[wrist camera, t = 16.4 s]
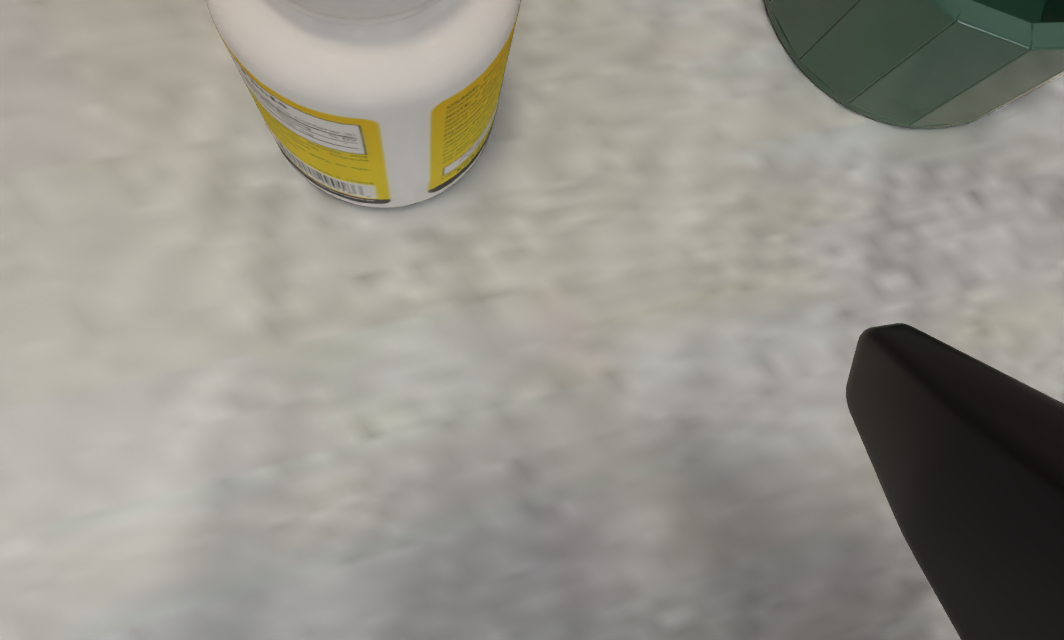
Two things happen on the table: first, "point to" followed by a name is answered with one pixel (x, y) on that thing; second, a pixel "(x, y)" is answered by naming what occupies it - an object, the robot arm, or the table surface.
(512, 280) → the table surface
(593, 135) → the table surface
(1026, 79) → the crock
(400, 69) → the supplement bottle
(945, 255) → the table surface
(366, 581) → the table surface
